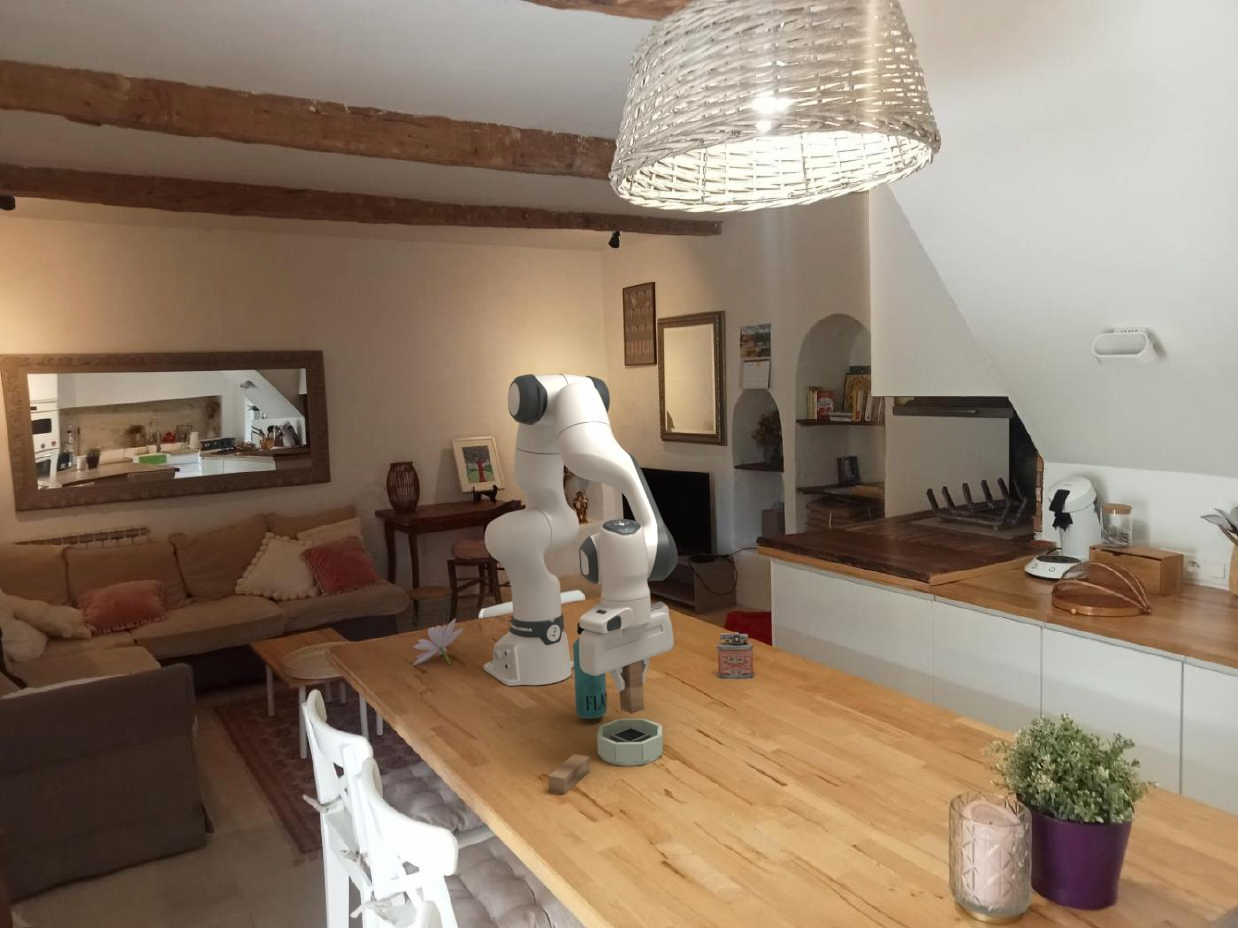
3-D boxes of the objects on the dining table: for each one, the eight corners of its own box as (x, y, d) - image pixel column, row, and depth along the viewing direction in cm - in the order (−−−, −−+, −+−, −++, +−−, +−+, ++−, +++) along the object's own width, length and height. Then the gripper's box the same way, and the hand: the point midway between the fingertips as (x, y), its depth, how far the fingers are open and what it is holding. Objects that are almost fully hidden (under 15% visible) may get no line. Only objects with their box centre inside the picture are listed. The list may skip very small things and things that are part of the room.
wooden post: (620, 709, 161) (617, 661, 161) (632, 705, 163) (630, 657, 163) (631, 713, 159) (629, 664, 158) (643, 708, 161) (641, 660, 160)
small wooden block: (574, 770, 156) (574, 754, 156) (590, 773, 155) (589, 756, 155) (549, 792, 148) (548, 775, 148) (564, 796, 147) (564, 778, 147)
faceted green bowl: (586, 752, 163) (585, 731, 162) (632, 733, 171) (631, 713, 170) (628, 772, 154) (627, 749, 154) (676, 751, 162) (675, 729, 161)
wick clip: (610, 748, 163) (609, 734, 162) (631, 739, 166) (631, 726, 166) (629, 756, 159) (629, 742, 158) (650, 747, 162) (650, 734, 162)
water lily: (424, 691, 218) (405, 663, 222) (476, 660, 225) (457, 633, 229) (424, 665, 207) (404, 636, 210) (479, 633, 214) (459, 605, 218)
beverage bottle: (584, 728, 174) (579, 628, 172) (570, 717, 180) (565, 620, 178) (613, 721, 177) (609, 623, 175) (599, 710, 183) (594, 615, 181)
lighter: (753, 673, 201) (752, 630, 200) (754, 679, 198) (753, 635, 197) (717, 674, 202) (716, 631, 201) (717, 679, 198) (716, 635, 197)
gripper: (655, 596, 169) (659, 667, 170) (571, 620, 155) (576, 697, 157) (679, 601, 164) (683, 674, 166) (595, 626, 151) (599, 706, 152)
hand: (630, 686), depth 161 cm, fingers closed on wooden post, 3 cm apart
